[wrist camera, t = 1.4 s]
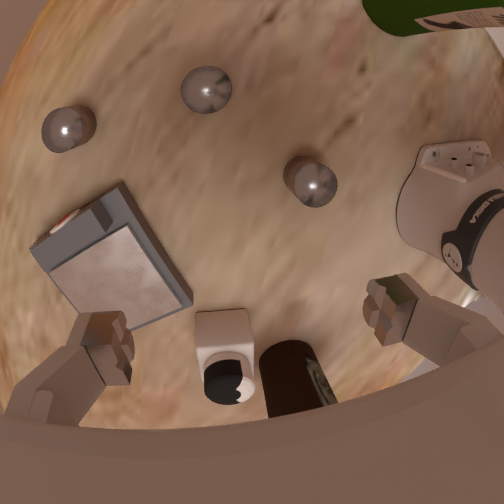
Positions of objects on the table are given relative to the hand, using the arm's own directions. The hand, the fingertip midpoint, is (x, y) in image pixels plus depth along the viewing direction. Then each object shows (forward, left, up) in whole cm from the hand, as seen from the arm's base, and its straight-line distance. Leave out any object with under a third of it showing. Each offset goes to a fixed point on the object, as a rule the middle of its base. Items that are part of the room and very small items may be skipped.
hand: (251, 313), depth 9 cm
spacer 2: (-2, -7, -25) cm, 26 cm away
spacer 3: (-8, +6, -25) cm, 27 cm away
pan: (+18, +7, -23) cm, 30 cm away
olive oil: (+4, +34, -26) cm, 42 cm away
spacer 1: (+12, -11, -25) cm, 30 cm away
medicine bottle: (+10, +22, -26) cm, 35 cm away
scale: (+18, +6, -25) cm, 31 cm away
